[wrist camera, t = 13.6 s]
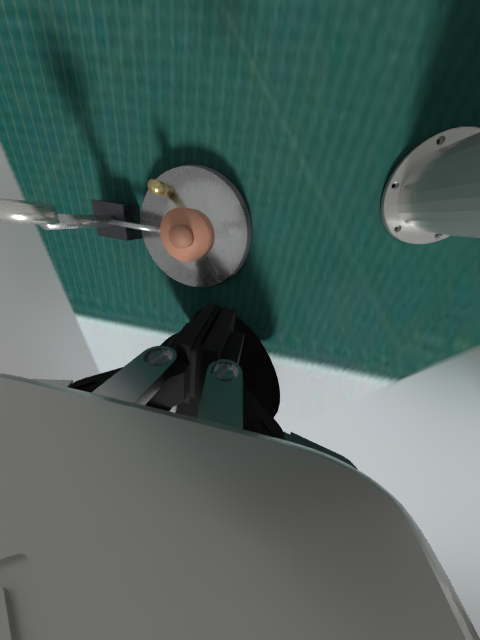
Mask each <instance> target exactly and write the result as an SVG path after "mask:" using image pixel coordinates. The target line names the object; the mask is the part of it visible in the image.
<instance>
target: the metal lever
mask: <svg viewBox="0 0 480 640" xmlns="http://www.w3.org/2000/svg"><path fill="white" fill-rule="evenodd" d="M91 200H92V199H91ZM92 205H93V210H94V215H86V214H57V210H56V206H55V205H51V204H45V203H39V202H31V201H23V200H13V199H2V198H0V221H5V222H13V223H25V224H39V226H40V227H41V228H43V229H45V230H56V229H74V228H92V227H97V231H98V235H100V236H105V237H111V238H116V239H122V240H134V239H140V238H142V233H141V230H143V231H149V232H155V233H160V228H159V227H154V226H148V225H143V224H141V222H140V212H139V206H135V205H129V204H123V203H118V202H112V201H102V200H92Z"/></svg>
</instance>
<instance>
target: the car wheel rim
mask: <svg viewBox="0 0 480 640" xmlns="http://www.w3.org/2000/svg"><path fill="white" fill-rule="evenodd" d="M203 309H204V308H203ZM203 309H201V310H200V311H198V312H197V313H196V314H195V315H194V316H193V317H192V318H191V320H190V322H189V323H193V322H194V320H195V319H196V318H197V316H198V315H199V314H200V313H201V311H202V310H203ZM217 309H220V313H221V311H222V310H224V309H221V308H217ZM233 332H236V333H241V334H244V339H243V345H242V350H241V355H240V359H239V363H238V365H239V366H240V367H241V369H242V376H243V384H244V385H245V386H246V387H247V389H248V390H249V391H250V392H251V393H252V394H253V395H254V397H255V398H256V399H257V400H258V401H259V402H260V403H261V405H262V406H263V407H264V408H265V409H266V410H267V411H268V413H269V414H270V415H271V416H272V417H273V418H274V416H275V415H276V413H277V412H278V408H279V404H280V389H279V383H278V378H277V375H276V372H275V369H274V366H273V364H272V362H271V359H270V357H269V355H268V353H267V352H266V350H265V348H264V346H263V345H262V343H261V342H260V340H259V339H258V338H257V336H256V335H255V334H254V333H253V332H252V330H251V329H250V328H249V327H248V326H247V325H246V324H245V323H244V322H243V321H241V320H240V319H239V318H238V317H236V316H235V322H234V329H233ZM178 334H179V333H177V334H174V335H172V336H171V337H169V338H168V339H167V340H166V341H164V342H163V343H162V344H161V345H160V346H167V347H168V346H169V345H170V343H171V342H172V341H173V340H174V338H175V337H176V336H177V335H178ZM197 404H198V393H197V395H196V397H195V398H194V397H192V398H191V400H190V402H189V404H187V403H181V404H178V405H177V409H176V411H175V413H178V414H182V415H186V416H190V417H195V418H197V415H198V410H199V407H198V405H197Z"/></svg>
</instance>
